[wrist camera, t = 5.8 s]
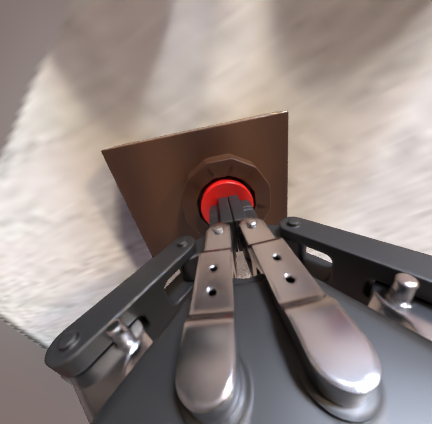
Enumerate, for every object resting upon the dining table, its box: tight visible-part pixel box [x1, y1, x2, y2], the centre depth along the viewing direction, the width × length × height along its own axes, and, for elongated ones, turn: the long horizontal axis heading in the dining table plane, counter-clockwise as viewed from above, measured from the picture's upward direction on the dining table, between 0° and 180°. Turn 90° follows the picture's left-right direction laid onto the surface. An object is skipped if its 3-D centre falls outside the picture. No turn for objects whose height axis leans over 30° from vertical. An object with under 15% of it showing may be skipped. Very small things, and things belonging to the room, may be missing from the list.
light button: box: [201, 176, 253, 223], centre depth 14 cm, size 4×4×2 cm
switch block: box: [101, 111, 288, 257], centre depth 16 cm, size 14×11×4 cm
